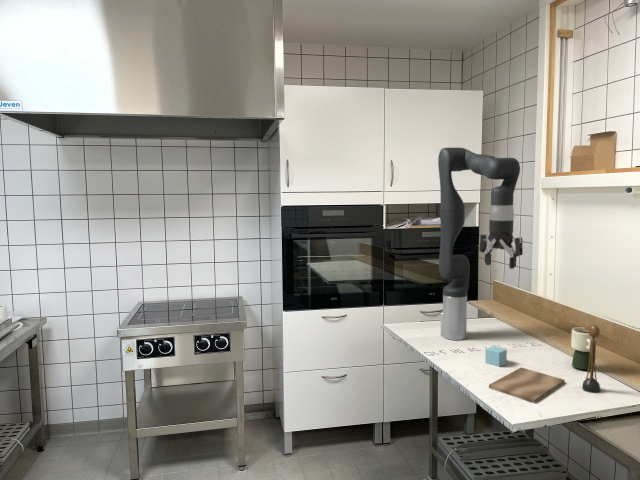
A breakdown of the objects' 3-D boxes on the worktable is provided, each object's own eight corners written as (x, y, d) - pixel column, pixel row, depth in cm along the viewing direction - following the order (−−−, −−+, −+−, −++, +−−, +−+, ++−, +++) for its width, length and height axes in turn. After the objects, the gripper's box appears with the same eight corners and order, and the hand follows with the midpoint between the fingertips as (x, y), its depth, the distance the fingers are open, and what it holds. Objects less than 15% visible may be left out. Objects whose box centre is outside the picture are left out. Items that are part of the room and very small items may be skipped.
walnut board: (488, 387, 149) (488, 384, 149) (521, 370, 162) (521, 367, 162) (534, 403, 138) (534, 399, 138) (564, 382, 151) (564, 379, 151)
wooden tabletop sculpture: (576, 385, 149) (579, 321, 147) (590, 384, 150) (593, 320, 147) (589, 393, 144) (592, 327, 141) (603, 392, 144) (607, 326, 142)
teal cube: (485, 363, 169) (485, 349, 168) (493, 359, 172) (493, 345, 172) (498, 367, 165) (499, 352, 165) (506, 363, 168) (506, 349, 168)
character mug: (601, 374, 157) (603, 335, 155) (577, 374, 157) (579, 335, 156) (586, 362, 167) (588, 325, 166) (564, 361, 168) (566, 325, 167)
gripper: (476, 218, 165) (475, 265, 167) (516, 220, 155) (514, 271, 157) (487, 216, 170) (486, 262, 172) (527, 218, 159) (525, 267, 161)
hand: (500, 266), depth 164 cm, fingers open, 8 cm apart
